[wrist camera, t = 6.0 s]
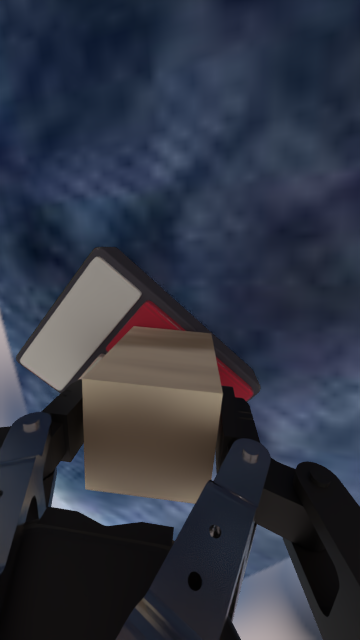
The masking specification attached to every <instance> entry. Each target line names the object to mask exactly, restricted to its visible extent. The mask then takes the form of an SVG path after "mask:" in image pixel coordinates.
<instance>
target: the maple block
mask: <svg viewBox="0 0 360 640" xmlns="http://www.w3.org/2000/svg"><path fill="white" fill-rule="evenodd" d="M82 395H83V427H84V460H85V489H87V490H95V491H103V492H110V493H118V494H125V495H133V496H141V497H148V498H156V499H164V500H171V501H179V502H186V503H194V504H195V503H196V501H197V500H198V498H199V496H200V494H201V492H202V490H203V489H204V487H205V485H206V483H207V482H208V481H209V480H211V477H212V470H213V463H214V455H215V448H216V441H217V433H218V426H219V419H220V411H221V404H222V397H223V392H222V387H221V381H220V376H219V371H218V366H217V361H216V356H215V350H214V345H213V340H212V335H211V333H201V332H190V331H180V330H169V329H158V328H148V327H137V326H133V327H132V328H131V329H130V330H129V331H128V332H127V333H126V335H125V336H124V337H123V338H122V339H121V340H120V341H119V342H118V343H117V344H116V345H115V346H114V347H113V348H112V349H111V350H110V351H109V352H108V353H107V354H106V355H105V356H104V357H103V358H102V359H101V360H100V361H99V362H98V363H97V364H96V365H95V366H94V367H93V368H92V369H91V370H90V371H89V372H88V373H87V374H86V375H85V376H84V377H83V378H82Z"/></svg>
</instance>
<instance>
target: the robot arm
mask: <svg viewBox="0 0 360 640" xmlns="http://www.w3.org/2000/svg"><path fill="white" fill-rule="evenodd" d="M221 387H222V392H223V397H222V404H221V411H220V419H219V426H218V433H217V441H216V448H215V449H216V469H217V475H216V477H215V479H214V481H212V480H209V481H208V482H207V483H206V485H205V487H204V489H203V490H202V492H201V494H200V496H199V498H198V500H197V501H196V503H195V505H194V507H193V509H192V511H191V513H190V514H189V516H188V518H187V520H186V522H185V524H184V525H183V527H182V529H181V531H180V533H179V535H178V537H177V538H176V540H175V541H173V530H174V527H169V526H163V525H157V524H151V523H144V522H138V523H130V524H122V525H114V526H104V525H102V524H100V523H98V522H96V521H94V520H92V519H91V518H89V517H87V516H85V515H83V514H81V513H79V512H78V511H71V510H65V509H59V508H52V507H51V504H52V498H53V492H54V487H55V481H56V475H57V468H56V466H57V465H58V464H59V462H60V461H66V462H71V461H72V459H73V458H74V456H75V455H76V453H77V452H78V450H79V449H80V447H81V446H82V444H83V443H84V427H83V395H82V379H79V380H77V381H75V382H73V383H71V384H70V385H69V386H68V387H67V388H66V389H65V390H64V391H63V392H62V393H61V394H60V395H59V396H57V397H56V398H55V399H54V400H53V401H52V402H51V403H50V404H49V405H48V406H47V407H46V408H45V409H44V410H43V411H42V412H35V413H30V414H27V415H25V416H23V417H21V418H19V419H18V420H16V421H15V422H14V423H13V424H12V426H10V427H1V428H0V640H241V639H240V637H239V635H238V633H237V631H236V629H235V627H234V625H233V623H232V621H233V617H234V613H235V609H236V605H237V601H238V597H239V593H240V589H241V584H242V581H243V576H244V572H245V568H246V565H247V561H248V557H249V553H250V549H251V546H252V542H253V538H254V534H255V530H256V527H257V524H258V525H260V526H262V527H264V528H266V529H268V530H270V531H272V532H274V533H276V534H278V535H280V536H282V537H283V540H284V543H285V545H286V548H287V550H288V553H289V555H290V558H291V560H292V563H293V565H294V568H295V570H296V573H297V575H298V578H299V580H300V583H301V585H302V588H303V590H304V593H305V595H306V598H307V600H308V603H309V605H310V608H311V610H312V613H313V615H314V617H315V620H316V623H317V625H318V628H319V630H320V633H321V635H322V638H323V640H360V507H359V505H358V504H357V503H356V501H355V500H354V499H353V497H352V496H351V495H350V493H349V492H348V491H347V489H346V488H345V487H344V485H343V484H342V483H341V481H340V480H339V479H338V478H337V476H336V475H334V474H333V473H332V472H331V471H330V470H328V469H327V468H325V467H323V466H321V465H319V464H317V463H313V462H302V463H300V464H298V465H297V467H296V469H294V468H291V467H289V466H286V465H283V464H281V463H279V462H277V461H275V460H274V459H272V458H271V457H270V454H269V452H268V450H267V449H266V448H265V447H264V446H263V445H262V444H260V440H259V437H258V433H257V430H256V427H255V423H254V420H253V416H252V414H251V409H250V406H249V404H248V403H247V402H246V401H245V400H244V399H243V398H239V397H235V394H234V390H233V387H230V386H221Z"/></svg>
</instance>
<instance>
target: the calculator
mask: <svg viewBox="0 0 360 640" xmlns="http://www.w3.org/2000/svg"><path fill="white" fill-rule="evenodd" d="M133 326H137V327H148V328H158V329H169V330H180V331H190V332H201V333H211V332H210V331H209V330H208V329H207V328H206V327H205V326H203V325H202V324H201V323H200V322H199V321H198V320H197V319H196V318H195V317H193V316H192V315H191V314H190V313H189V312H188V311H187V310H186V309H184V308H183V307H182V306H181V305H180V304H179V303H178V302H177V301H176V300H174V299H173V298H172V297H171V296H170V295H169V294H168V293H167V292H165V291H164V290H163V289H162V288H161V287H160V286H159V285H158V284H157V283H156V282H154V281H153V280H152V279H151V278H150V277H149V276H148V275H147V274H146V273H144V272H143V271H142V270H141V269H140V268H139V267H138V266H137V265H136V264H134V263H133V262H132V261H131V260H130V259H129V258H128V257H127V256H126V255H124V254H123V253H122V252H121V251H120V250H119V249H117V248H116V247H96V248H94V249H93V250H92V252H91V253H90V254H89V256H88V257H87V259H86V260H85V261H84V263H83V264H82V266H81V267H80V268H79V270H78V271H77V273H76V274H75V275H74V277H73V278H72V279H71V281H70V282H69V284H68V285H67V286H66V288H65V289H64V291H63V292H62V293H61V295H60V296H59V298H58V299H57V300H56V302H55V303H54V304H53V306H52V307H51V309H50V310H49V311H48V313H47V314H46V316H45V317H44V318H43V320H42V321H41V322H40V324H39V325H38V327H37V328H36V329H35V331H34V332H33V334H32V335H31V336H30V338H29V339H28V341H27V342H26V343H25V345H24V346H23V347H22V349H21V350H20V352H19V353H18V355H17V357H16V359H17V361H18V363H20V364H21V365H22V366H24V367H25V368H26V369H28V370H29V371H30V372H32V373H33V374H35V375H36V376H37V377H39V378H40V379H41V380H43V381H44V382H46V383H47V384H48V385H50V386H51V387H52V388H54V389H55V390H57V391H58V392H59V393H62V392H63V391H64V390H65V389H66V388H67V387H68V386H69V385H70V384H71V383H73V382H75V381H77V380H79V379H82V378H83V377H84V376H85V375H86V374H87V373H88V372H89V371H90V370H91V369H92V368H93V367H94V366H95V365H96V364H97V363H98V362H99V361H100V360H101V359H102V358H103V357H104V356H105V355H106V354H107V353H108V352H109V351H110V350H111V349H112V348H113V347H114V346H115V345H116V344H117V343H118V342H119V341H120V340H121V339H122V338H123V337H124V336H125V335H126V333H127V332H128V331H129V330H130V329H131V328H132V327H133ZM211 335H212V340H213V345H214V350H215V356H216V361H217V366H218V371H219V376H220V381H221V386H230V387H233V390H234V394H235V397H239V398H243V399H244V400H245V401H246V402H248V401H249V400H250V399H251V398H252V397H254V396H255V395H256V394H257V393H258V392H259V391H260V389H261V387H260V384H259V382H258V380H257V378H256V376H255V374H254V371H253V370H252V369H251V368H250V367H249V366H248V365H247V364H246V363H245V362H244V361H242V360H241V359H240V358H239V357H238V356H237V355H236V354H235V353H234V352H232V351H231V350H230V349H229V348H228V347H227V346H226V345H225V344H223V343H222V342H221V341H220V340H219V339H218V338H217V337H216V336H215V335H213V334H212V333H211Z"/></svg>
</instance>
